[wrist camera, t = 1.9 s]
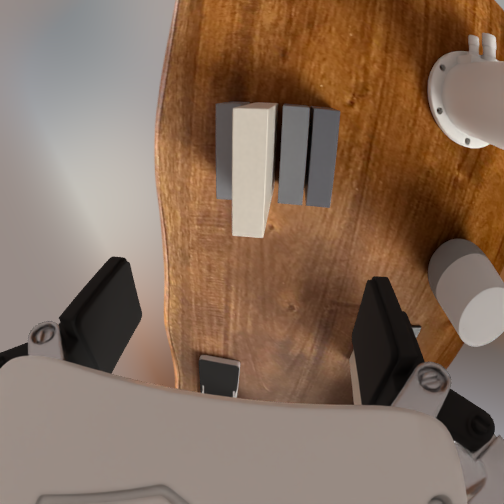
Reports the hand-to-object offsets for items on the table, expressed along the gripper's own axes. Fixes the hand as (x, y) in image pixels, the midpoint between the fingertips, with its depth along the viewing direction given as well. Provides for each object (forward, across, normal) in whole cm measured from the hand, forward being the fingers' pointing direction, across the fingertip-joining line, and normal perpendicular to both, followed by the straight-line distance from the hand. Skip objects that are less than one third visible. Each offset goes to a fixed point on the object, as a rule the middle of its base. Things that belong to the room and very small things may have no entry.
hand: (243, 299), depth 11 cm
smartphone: (+27, +9, +44) cm, 52 cm away
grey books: (+26, 0, -1) cm, 26 cm away
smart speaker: (+26, -27, +12) cm, 39 cm away
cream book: (+26, +1, -1) cm, 26 cm away
